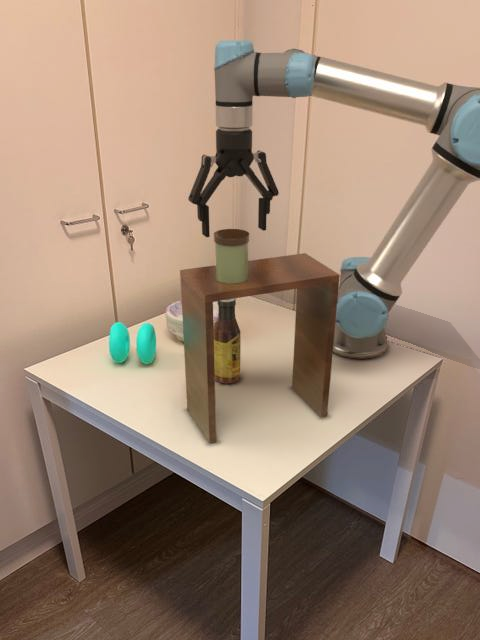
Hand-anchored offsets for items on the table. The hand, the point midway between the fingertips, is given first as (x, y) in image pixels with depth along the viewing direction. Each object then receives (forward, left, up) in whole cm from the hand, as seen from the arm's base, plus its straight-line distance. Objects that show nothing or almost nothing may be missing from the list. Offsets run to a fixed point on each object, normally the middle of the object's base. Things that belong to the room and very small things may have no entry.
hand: (234, 232), depth 141 cm
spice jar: (+2, +29, 0) cm, 29 cm away
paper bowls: (+10, -14, -32) cm, 36 cm away
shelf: (-4, +26, -32) cm, 41 cm away
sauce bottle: (+2, +10, -32) cm, 33 cm away
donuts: (+25, 0, -32) cm, 41 cm away
